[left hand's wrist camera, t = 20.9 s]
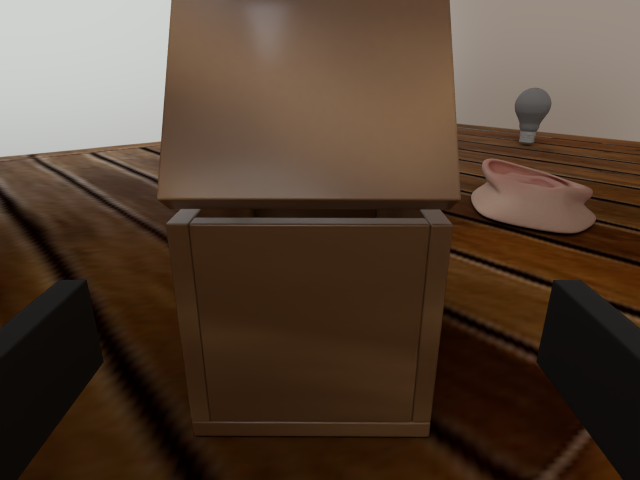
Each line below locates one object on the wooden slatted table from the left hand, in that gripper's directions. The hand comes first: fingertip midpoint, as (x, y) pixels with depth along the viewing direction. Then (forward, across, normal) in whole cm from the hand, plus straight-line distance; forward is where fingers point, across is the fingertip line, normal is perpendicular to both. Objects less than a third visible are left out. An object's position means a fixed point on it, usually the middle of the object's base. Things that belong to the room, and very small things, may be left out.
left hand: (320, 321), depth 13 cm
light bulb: (+74, +39, -7) cm, 84 cm away
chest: (+10, 0, -7) cm, 12 cm away
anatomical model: (+32, +21, -7) cm, 39 cm away
